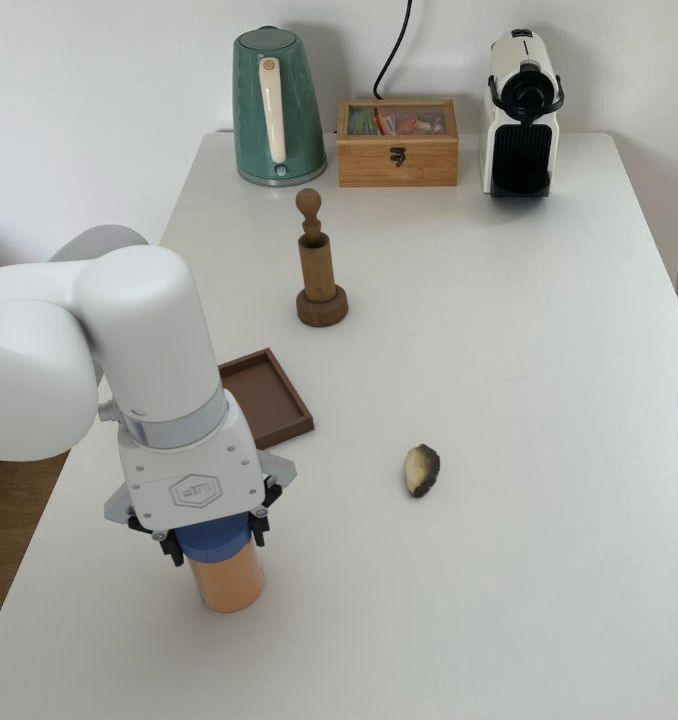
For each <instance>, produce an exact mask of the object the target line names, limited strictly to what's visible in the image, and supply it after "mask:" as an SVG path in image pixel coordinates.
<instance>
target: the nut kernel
mask: <svg viewBox="0 0 678 720" xmlns="http://www.w3.org/2000/svg"><path fill="white" fill-rule="evenodd" d="M437 453H438V452H437V451H436V450H435V449H434V448H432V447H430V446H429V445H427V444H425V443H420V444H419V445H417V446H415V447H412V448H411V449H409V450H408V452H407V455H406V457H405V459H404V463H403V472H404V477H405V482H406V483H405V484H406V487H407V488H408V491H409V493H411V495H413V496H415V497H417V498H422V497H423V496H424V495H427V494H428V492H430V489H431V487H433V486H434V485H435V483H436V482H437V476H438V475H439V472H440V471H441V468H440V467H441V459H440V457H441V456H440V455H438V454H437Z"/></svg>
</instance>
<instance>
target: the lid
mask: <svg viewBox="0 0 678 720" xmlns="http://www.w3.org/2000/svg"><path fill="white" fill-rule="evenodd" d="M251 532H252V533H253V531H252V528H251V524H250V519H249V512H248V511H245V512H242V513H238V514H234V515H230V516H226V517H222V518H217V519H213V520H209V521H205V522H200V523H196V524H191V525H187V526H182V527H177V528H174V533H175V536H176V538H177V541H178V544H179V546H180V548H181V550H182V552H183V555H184V556H185V557H186V556H187V557H189V558H190V559H192V560H195V561H198V562H202V563H214V562H219V561H223V560H225V559H228V558H230V557H232V556H234V555H235V554H236V553H238V552H239V551H240V550H241V549H242V548H243V547H244V546H245V545H246V543H247V542H248V540H249V538H250V536H251ZM187 557H186V558H187Z"/></svg>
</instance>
